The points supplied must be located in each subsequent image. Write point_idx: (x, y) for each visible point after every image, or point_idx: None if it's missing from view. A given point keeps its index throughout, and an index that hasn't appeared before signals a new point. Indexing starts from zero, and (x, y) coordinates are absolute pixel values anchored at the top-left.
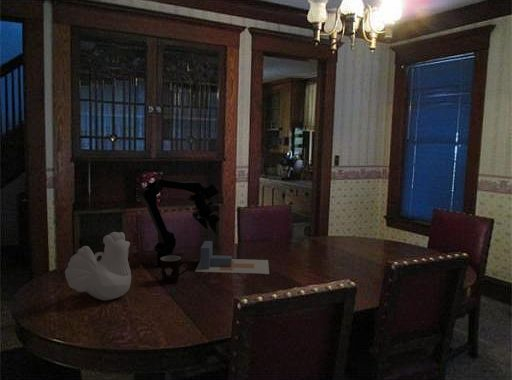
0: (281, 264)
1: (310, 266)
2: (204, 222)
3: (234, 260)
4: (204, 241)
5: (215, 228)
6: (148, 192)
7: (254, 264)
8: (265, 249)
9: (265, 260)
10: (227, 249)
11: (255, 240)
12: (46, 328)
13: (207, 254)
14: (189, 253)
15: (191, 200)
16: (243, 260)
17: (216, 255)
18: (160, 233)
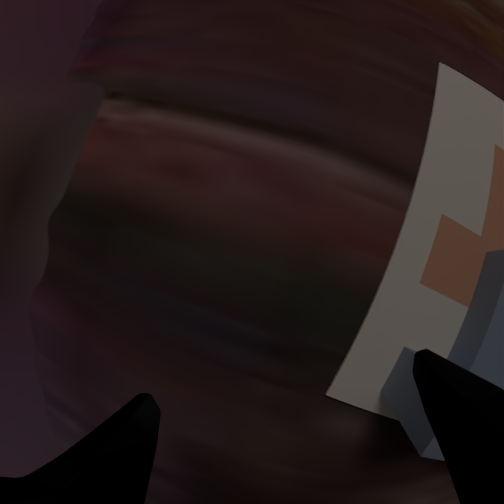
0: (479, 55)
1: (484, 13)
2: (110, 481)
3: (436, 210)
4: (437, 456)
5: (480, 392)
6: None
7: (500, 146)
8: (244, 12)
9: (445, 73)
10: (170, 165)
11: (102, 39)
12: None
13: None
14: (186, 411)
15: None
16: (443, 161)
17: (481, 344)
18: None
